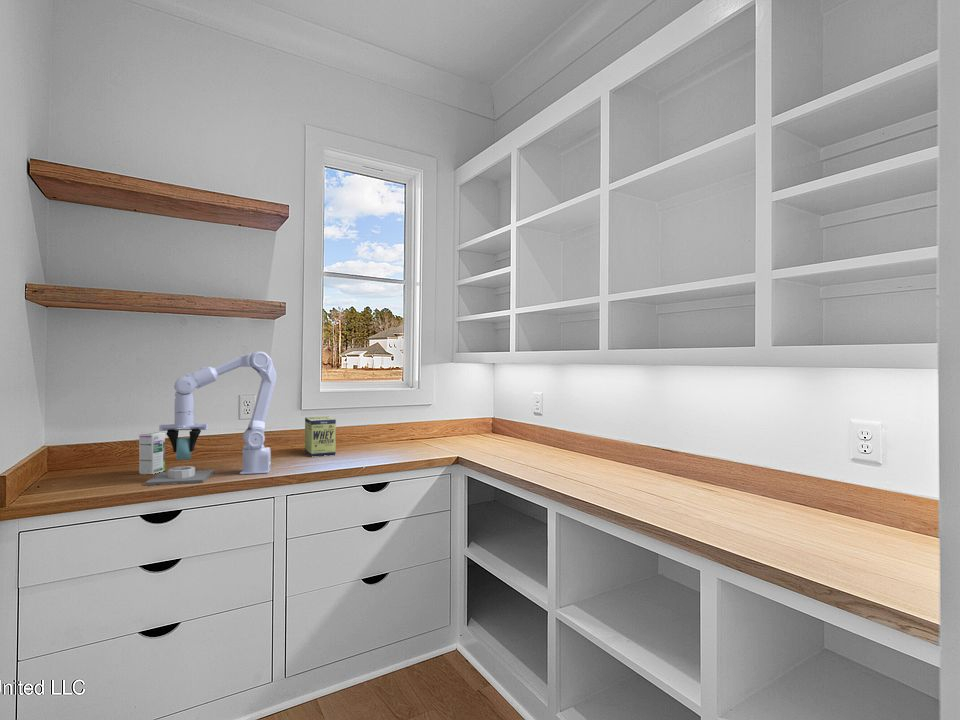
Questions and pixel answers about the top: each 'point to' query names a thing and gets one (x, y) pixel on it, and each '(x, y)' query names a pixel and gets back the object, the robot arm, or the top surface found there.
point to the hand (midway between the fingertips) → (183, 451)
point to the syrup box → (151, 453)
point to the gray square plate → (180, 476)
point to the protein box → (320, 436)
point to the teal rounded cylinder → (183, 448)
